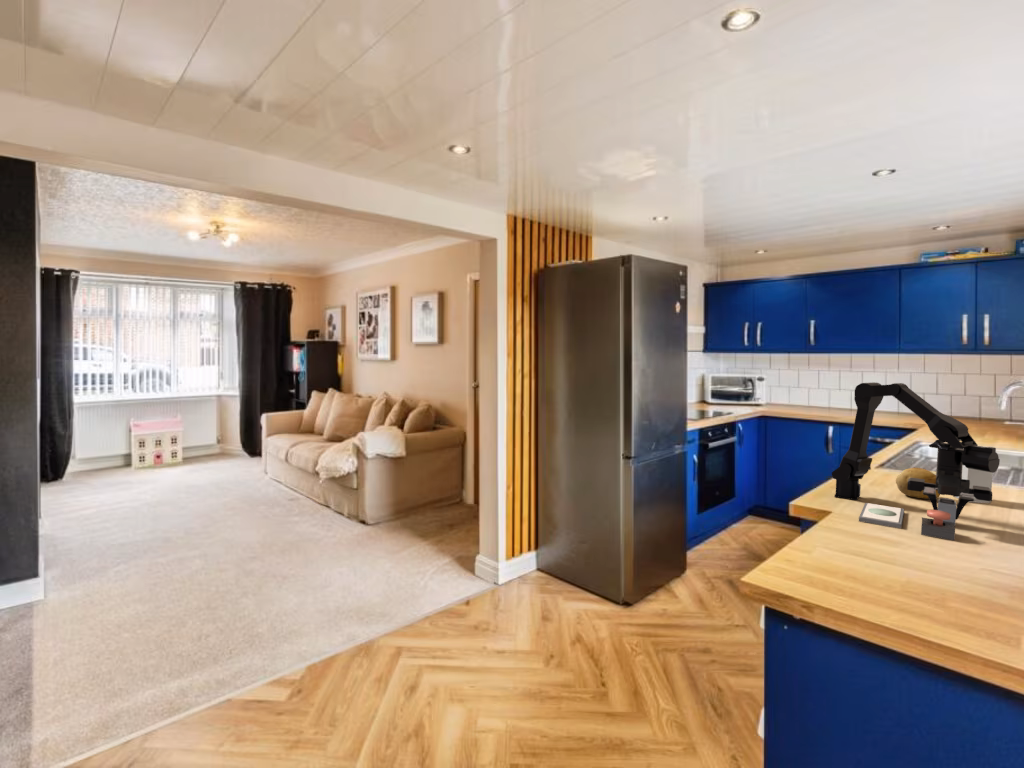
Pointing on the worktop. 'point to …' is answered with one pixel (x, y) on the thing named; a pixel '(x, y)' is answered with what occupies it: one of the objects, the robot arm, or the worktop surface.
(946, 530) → the button housing
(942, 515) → the button
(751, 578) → the worktop surface
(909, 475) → the potato
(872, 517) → the drawing board
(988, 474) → the supplement box
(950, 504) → the grey rectangular block
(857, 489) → the robot arm
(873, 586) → the worktop surface
